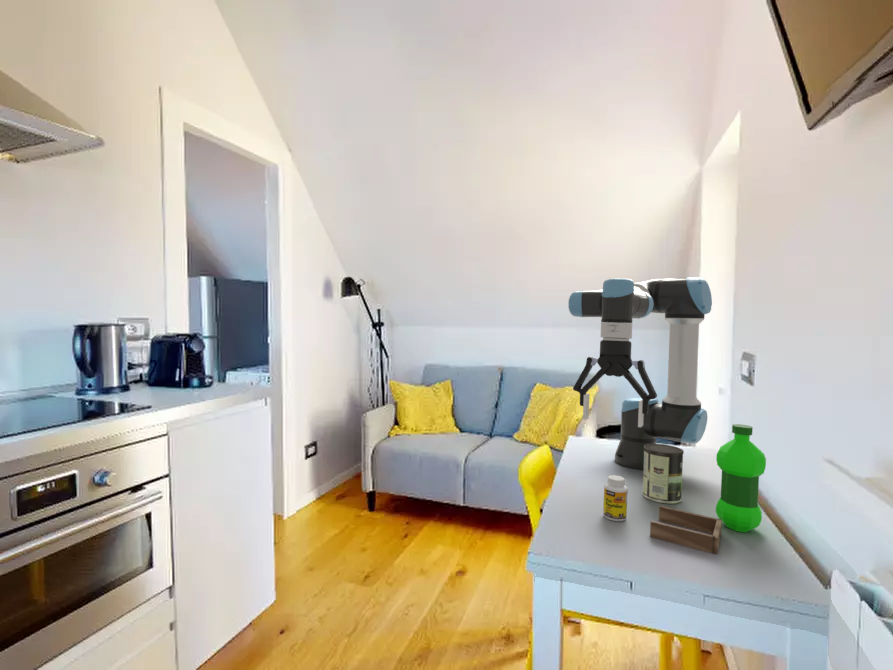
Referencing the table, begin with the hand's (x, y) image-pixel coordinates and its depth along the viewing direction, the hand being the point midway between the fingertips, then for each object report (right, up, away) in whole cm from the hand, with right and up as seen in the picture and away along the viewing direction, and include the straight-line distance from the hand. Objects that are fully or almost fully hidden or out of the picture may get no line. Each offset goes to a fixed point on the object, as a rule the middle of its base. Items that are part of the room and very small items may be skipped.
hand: (612, 422), depth 120 cm
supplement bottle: (0, -24, -1) cm, 24 cm away
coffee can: (+19, -24, +14) cm, 34 cm away
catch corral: (+13, -24, -10) cm, 30 cm away
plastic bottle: (+29, -25, -5) cm, 39 cm away
